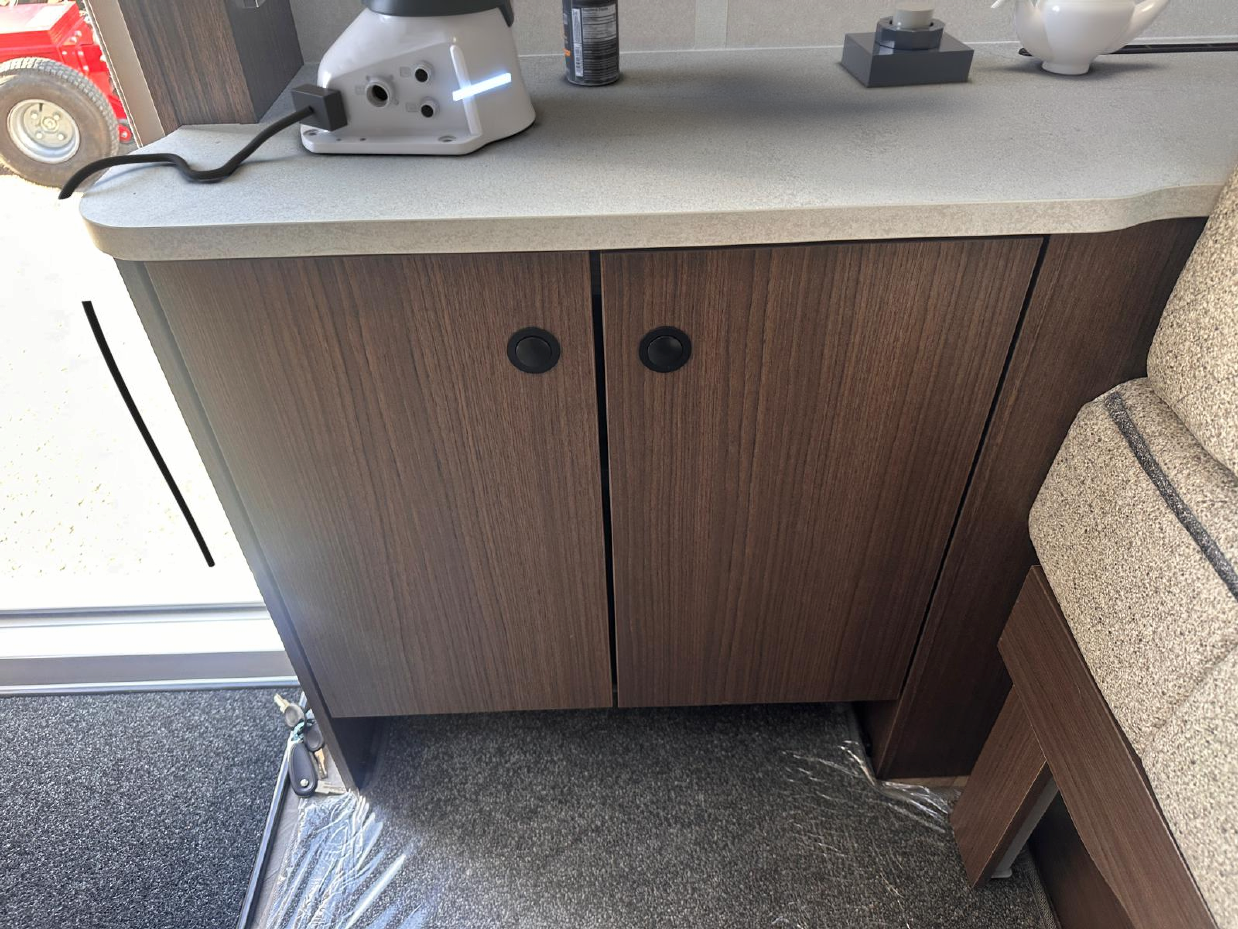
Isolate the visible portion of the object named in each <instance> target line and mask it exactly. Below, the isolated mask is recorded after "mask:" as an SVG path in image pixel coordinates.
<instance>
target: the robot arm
mask: <svg viewBox="0 0 1238 929" xmlns="http://www.w3.org/2000/svg"><path fill="white" fill-rule="evenodd" d="M361 4H362V6H365V8H364V9H363V10H362V11H361V12H360V14H359V15H358V16H357V17H356V18H355V19H354V20H353V21H352V23H351V24H349V26H348V27H347V28H346V29H345V30H344V31H343V32H342V33H341V35H340V36H339V37H338V38H337V39H336V40H335V42H334V43H333V44H332V45H330V47H329V49H328V50H327V51H326V52H325V54H324V55H323V57H322V59H321V61H320V63H319V66H318V70H317V83H316V85H315V84H310V83H304V84H302V85H298V86H296V87H293V88H289V89H290V95H291V98H292V103H293V106H294V110H295V112H293V113H291V114H289V115H287V116H285V117H283V118H281V119H280V120H277V121H276V122H274V123H272V124H270V125H269V126H268V127H266V128H265V129H263V130H262V131H260V132H259V133H258V134H257V135H256V136H255V137H253V138H252V139H251V140H250V141H249V142H248V144H247V145H245V146H244V147H243V148H242V149H241V150H240V151H238V152H237V153H236V154H234V155H233V156H232V157H231V158H230V159H229V160H228V161H227V162H226V163H224V164H223V165H222V166H220V167H217V168H214V169H208V170H196V169H192V167H190V165H189V164H188V161H186V160H185V158H183V157H182V156H181V155H178V154H176V153H171V152H157V153H140V154H139V153H138V154H123V155H115V156H110V157H105V158H100V159H98V160H95V161H93V162H91V163H88V164H86V165H84V166H83V167H82V168H80V169H79V170H77V171H76V172H75V173H74V174H73V175H72V176H71V177H70V178H68V180H67V181H66V182H65V184H64V185H63V187H62V188H61V190H60V192H59V194H58V197H57V200H60V201H63V200H66V199H69V198H71V197H72V195H73V194H74V192H75V191H76V190H77V188H78V187H79V186H80V185H81V184H82V183H83V182H84V181H85V180H86V179H88V178H89V177H90V176H92V175H94V174H96V173H98V172H100V171H102V170H104V169H108V168H113V167H117V166H124V165H134V164H150V163H172V164H175V165H176V166H178V168H179V169H180V171H181V172H182V173H183V174H184V175H185V176H186V177H188V178H189V179H190V180H191V179H192V180H196V181H207V180H208V181H209V180H215V179H219V178H223V177H226V176H228V175H229V174H231V173H232V172H234V170H235V169H236V168H237V167H238V166H239V165H240V164H242V163H243V162H244V161H246V160H247V159H248V158H249V157H251V156H252V155H253V154H254V153H255V152H256V151H257V150H258V149H259V148H260V147H261V146H263V144H265V142H267V141H268V140H270V138H272V137H274V136H275V135H277V134H278V133H280V132H282V131H283V130H286V129H287V128H288V127H290V126H291V127H292V125H294V124H297V123H298V124H300V138H301V142H302V145H303V146H304V148H305V149H307V150H308V151H309V152H311V153H316V154H373V155H375V154H378V155H379V154H380V155H381V154H384V155H386V154H387V155H389V154H390V155H466V154H469V153H472V152H474V151H476V150H478V149H480V148H481V147H483V146H485V145H486V144H489V143H491V142H494V141H498V140H501V139H504V138H507V137H510V136H512V135H514V134H518V133H519V132H522V131H523V130H525V129H526V128H528V127H530V126H531V125H532V123H533V122H534V121H535V119H536V112H535V109H534V106H533V104H532V101H531V98H530V95H529V92H528V89H527V85H526V82H525V79H524V75H523V71H522V66H521V63H520V57H519V54H518V48H517V43H516V37H515V33H514V27H513V24H514V22H515V15H516V8H515V7H516V6H515V5H516V4H515V0H361ZM81 306H82V308H83V311H84V314H85V316H86V318H87V321H88V323H89V325H90V329H91V332H92V334H93V336H94V338H95V341H96V343H97V347H98V348H99V350H100V353H101V355H102V357H103V360H104V362H105V364H106V366H107V368H108V371H109V373H110V375H111V377H112V379H113V380H114V383H115V385H116V388H117V390H118V391H119V394H120V396H121V397H122V399H123V402H124V403H125V406H126V408H127V410H128V411H129V414H130V415H131V417H132V419H133V421H134V424H135V425H136V427H137V430H138V431H139V433H140V434H141V436H142V439H143V441H144V442H145V444H146V446H147V449H148V451H149V452H150V454H151V456H152V458H153V460H154V462H155V463H156V465H157V467H158V469H159V471H160V472H161V474H162V475H161V476H163V479H164V481H165V482H166V484H167V486H168V488H169V490H170V491H171V494H172V495H173V497H174V499H175V501H176V503H177V505H178V508H179V509H180V511H181V513H182V515H183V517H184V519H185V521H186V523H187V525H188V526H189V529H190V531H191V533H192V535H193V537H194V539H195V541H196V543H197V545H198V547H199V549H200V551H201V554H202V555H203V556H202V557H203V558H204V560H205V562H206V564H207V567H208V568H213V567H214V566H216V562H215V560H214V558H213V556H212V554H211V552H210V550H209V547H208V545H207V542H206V541H205V539H204V537H203V535H202V532H201V530H200V528H199V526H198V524H197V522H196V520H195V518H194V515H193V514H192V512H191V510H190V508H189V506H188V504H187V503H186V500H185V498H184V497H183V494H182V492H181V491H180V489H179V487H178V485H177V483H176V481H175V479H174V477H173V474H172V472H171V471H170V469H169V468H168V466H167V463H166V461H165V459H164V458H163V456H162V454H161V452H160V450H159V448H158V446H157V444H156V442H155V440H154V438H153V437H152V434H151V433H150V431H149V429H148V427H147V425H146V423H145V420H144V419H143V416H142V414H141V413H140V411H139V409H138V406H137V405H136V403H135V401H134V398H133V397H132V395H131V393H130V391H129V388H128V385H127V383H126V382H125V380H124V378H123V376H122V374H121V371H120V369H119V367H118V365H117V363H116V360H115V358H114V355H113V353H112V351H111V349H110V347H109V344H108V341H107V340H106V337H105V335H104V332H103V329H102V326H101V324H100V321H99V319H98V316H97V314H96V311H95V308H94V305H93V302H92V300H81Z"/></svg>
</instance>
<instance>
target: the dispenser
mask: <svg viewBox="0 0 1238 929" xmlns="http://www.w3.org/2000/svg"><path fill="white" fill-rule="evenodd" d="M892 19H893V15H891V16H886V17H882V18H880V19H879V20H878V21H877V22H876V27H875V31H869V32H849V33H844V40H843V41H844V42H843V48H842V54H841V62H840V64H841V65H842V66H843V67H844V68H845V69H846V71H848V72H849V73H850V74H852V75H853V76H854V77H855V78H856V79H857V80H858V81H860V82H861V83H862V84H863V85H864V86H865V87H866V88H885V87H901V86H902V87H904V86H905V87H906V86H921V85H938V84H955V83H956V84H957V83H958V84H959V83H967V82H968V80H969V76H970V71H971V66H972V63H973V58H974V54H975V49H974V48H972V47H971V46H969V45H967V44H966V43H964V42H962V41H961V40H959V39H958V38H956V37H954V36H953V35H951V34H950V33H947V32H946V26H947V24H946V23H945V21H942V20H940V19H937V18H934V17H932V21H931V26H930V27H928V28H918V29H911V28H901V27H896V26H892Z"/></svg>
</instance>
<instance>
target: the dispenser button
mask: <svg viewBox="0 0 1238 929" xmlns="http://www.w3.org/2000/svg"><path fill="white" fill-rule="evenodd" d="M934 10H935V6H934V5H933V4H931V3H926V2H920V1H903V2H898V3H896V4H895V5H894V8H893V13H892V16H893V19H892V26H896V27H901V28H911V29H918V28H928V27H930V26H931V21H932V18H933V16H934Z"/></svg>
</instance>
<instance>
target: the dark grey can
mask: <svg viewBox="0 0 1238 929" xmlns="http://www.w3.org/2000/svg"><path fill="white" fill-rule="evenodd" d="M561 8H562V9H561V10H562V24H563V27H562V28H563V40H564V55H565V56H564V59H565V72H566V73H565V75H566V78H567V80H568V81H569V82H571V83H573V84H576V85H580V86H601V85H602V86H603V85H607V84H610V83H613V82H615V81H616V80H618V78H619V77H620V72H621V70H620V59H621V58H620V24H619V21H620V20H619V0H561Z"/></svg>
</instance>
